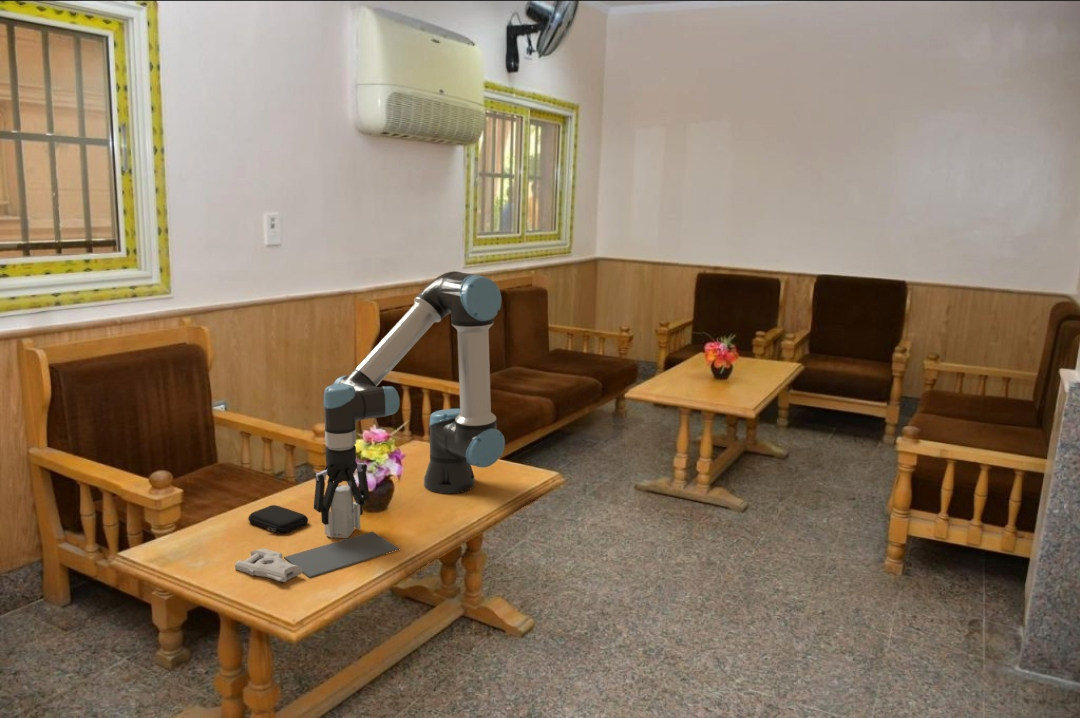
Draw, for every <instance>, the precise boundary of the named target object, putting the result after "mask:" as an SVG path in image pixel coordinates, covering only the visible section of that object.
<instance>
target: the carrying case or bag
mask: <svg viewBox="0 0 1080 718" xmlns="http://www.w3.org/2000/svg"><path fill="white" fill-rule="evenodd" d="M247 521H249V523H251V524H252V525H256V526H258V527H261V528H264V529H266V530H267V531H268V532H275V533H278V534H283V535H284V534H287V533H289V532H292V531H295V530H297V529H299V528H302V527H304V526H306V525H307V524H308V522H309V518H308V517H307V516H306V515H305V514H304V513H301V512H298V511H296V510H291V509H289V508H286V507H283V506H280V505H276V504H271V505H269V506H266V507H264V508H261V509H258V510H256V511H253V512H251V513H250V515H249V516H248V518H247Z"/></svg>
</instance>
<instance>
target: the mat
mask: <svg viewBox="0 0 1080 718" xmlns="http://www.w3.org/2000/svg"><path fill="white" fill-rule="evenodd" d="M399 549H400V547H398V546H396V545H395V544H394V543H392V542H390V541H388V540H387V539H385V538H384V537H382V536H381V535H379V534H377V533H375V532H374V531H369V532H366V533H363V534H359V535H356V536H352V537H348V538H344V539H343V540H338V541H334V542H331V543H328V544H324V545H322V546H318V547H314V548H311V549H310V548H309V549H307V550H304V551H300V552H296V553H294V554H290V555H286V556H284V559H285V561H286V562H288V563H291V564H293V565H296V566H299V567H300V568H302V574H304V576H306V577H308V579H312V578H314V577H317V576H320V575H324V574H327V573H329V572H333V571H337V570H340V569H343V568H347V567H349V566H353V565H357V564H359V563H363V562H366V561H369V560H372V559H375V558H379V557H382V556H384V555H383V554H385V555H387V554H386V553H388V554H390V553H389V552H391V553H393V552H392V551H395V550H398V551H400V550H401V549H400V550H399ZM395 552H396V551H395ZM381 555H382V556H381ZM378 556H379V557H378ZM374 557H375V558H374ZM284 559H283V560H284Z"/></svg>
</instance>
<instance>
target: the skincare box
mask: <svg viewBox="0 0 1080 718" xmlns="http://www.w3.org/2000/svg"><path fill="white" fill-rule="evenodd" d="M353 502H354V497H353V493H352V489H351V487H350V486H349V485H343V484H339V485H338V487H337V488H336V491H335V493H334V497H333V500H332V503H331V507H330V511H331V512H332V526H333V537H332V538H335V539H348V538H350V536H351V534H352V533H353V532H354V530H355V527H354V509H353Z"/></svg>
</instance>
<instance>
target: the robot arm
mask: <svg viewBox="0 0 1080 718" xmlns="http://www.w3.org/2000/svg"><path fill="white" fill-rule="evenodd" d="M499 288H500V287H499V286H498V284H497V283H495V281H493V280H492V279H491V278H489V277H486V276H484V275H480V274H475V273H467V272H461V271H455V270H454V271H448V272H445V273H442V274H440V275H438V276H437V277H436V278H434V279H433V280H432V281H430V282H429V283H428V284H427V285H426V286H425V287H424V288H422V289H421V291H419V293H418V294H417V295H416V297H414V298H413V303H414V304H413V305H412V306H411V307H410V308H409V310H408V311H407V312H405V314H404V315H403V316H402V317H401V318H400V319H399V321H397V322H396V324H395V325H394V326H393V327H392V328H391V329H390V330H389V332H387V333H386V335H384V337H383V338H381V340H380V341H379V343H377V344H376V345H375V346H374V348H373V349H372V350H371V351H369V353H368V354H367V355H366V356H365V357H364V359H363V360H362V361H361V362H360V363H359V364H358V365H357V366H356V367H355V368H354V370H352V372H351V373H350V374H349V375H342V376H340V377H337V378H336V379H335V381H334V382H333V383H332V384H331V385H328V386H327V387H325V389H324V392H323V404H322V405H323V414H324V444H325V451H324V452H325V453H324V454H325V464H326V466H325V468H324V470H321V471H320V472H318V471H315V472H314V478H315V488H314V489H315V490H314V499H313V500H314V501H313V510H314V511H316V512H318V513H321V517H320V518H321V523H322V525H324V534H325V535H326V536H327V537H329V538H334V537H333V526H332V512H331V503H332V500H333V497H334V493H335V491H336V488H337V487H338V485H340V484H341V483H343V482H346V483H347V484H348V485H349V486H350V487H351V489H352V493H353V500H354V501H353V509H354V529H356V530H360V529H361V516H363V514H364V512H363V511H364V508H363V507H364V505H365V503H366V501H368V500H370V491H369V483H368V476H367V470H368V464H366V463H365V462H362V461H359V462H357V461H356V460H357V447H356V444H357V438H356V437H357V432H356V428H357V427H356V426H357V423H356V422H358V421H363V420H369V419H375V418H376V419H377V418H382V417H387V416H391V415H394V414H396V413H397V412H398V410H399V408H400V395H399V393H398V391H397V390H396V388H395V387H394V386H384V385H382V386H380V387H379V386H378V385H380V383H381V382H382V381H384V379H385V378H386V377H387V376H388V375H389V373H390V372H391V371H392V370H393V369H394V368H395V367H396V365H398V363H400V361H401V360H402V359H403V358H404V357H405V356H406V355H407V353H408V352H410V350H411V349H412V348H413V347H414V346H415V344H416V343H418V342H419V340H420V339H421V338H422V337H423V336H424V335H425V334H426V333H427V331H428V330H430V328H431V327H432V326H433V324H435V323H440V322H442V320H443V319H444V318H445V317H446V316H447V315H449V314H450V316H451V317H450V321H451V326H452V327H454V328H455V329H456V331H457V354H458V355H457V357H458V358H457V359H458V379H459V380H458V384H459V386H458V387H459V408H447V409H441V410H439V409H438V410H436V411H434V412H432V413H431V414H430V416H429V424H428V425H429V463H428V465H427V468H426V472H425V475H424V478H423V486H424V488H425V489H426V490H428V491H431V492H434V493H440V494H458V493H457V492H459V493H463V492H462V491H464V492H467V491H469V490H468V489H470V488H471V489H473V488H474V487H475V485H474V484H476V482H475V481H476V480H475V479H476V478H475V475H474V471H473V468H472V466H474V467H476V468H477V467H478V468H481V469H483V468H484V469H485V468H488V467H490V466H492V465H494V464H495V463H497V461H498V460H499V458H500V457H501V456H502V455H503V453H504V450H505V446H506V440H505V436H504V435H503V433H502V432H501V431H500V430H499V429H498V428H497V425H498V424H497V416H496V415H495V414H494V413H493V412H492V410H491V408H492V407H491V406H492V405H491V404H492V403H491V402H492V400H491V373H490V372H491V370H490V365H491V364H490V340H489V339H490V335H489V333H490V332H489V330H490V328H491V327H492V326H493V325H494V323H495V321H494V320H495V319H494V318H495V317H496V316H497V315H498V311H500V310H501V307H502V294H501V293H502V292H501V291H500V289H499ZM377 386H378V387H377ZM356 471H357V472H356ZM355 473H357V479H358V484H357V481H356V478H355V476H354V475H355ZM327 477H328V480H327ZM326 480H327V485H326ZM325 486H326V488H325ZM473 486H474V487H473ZM472 487H473V488H472ZM471 489H470V490H471ZM466 490H467V491H466Z"/></svg>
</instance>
